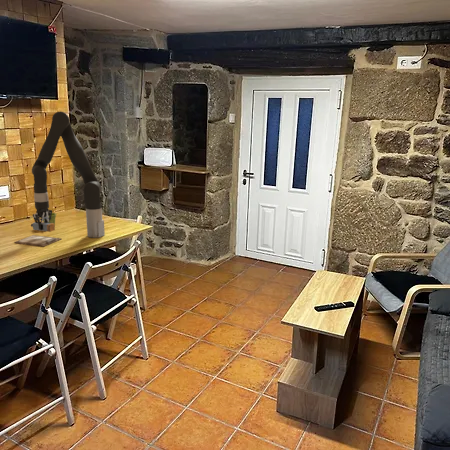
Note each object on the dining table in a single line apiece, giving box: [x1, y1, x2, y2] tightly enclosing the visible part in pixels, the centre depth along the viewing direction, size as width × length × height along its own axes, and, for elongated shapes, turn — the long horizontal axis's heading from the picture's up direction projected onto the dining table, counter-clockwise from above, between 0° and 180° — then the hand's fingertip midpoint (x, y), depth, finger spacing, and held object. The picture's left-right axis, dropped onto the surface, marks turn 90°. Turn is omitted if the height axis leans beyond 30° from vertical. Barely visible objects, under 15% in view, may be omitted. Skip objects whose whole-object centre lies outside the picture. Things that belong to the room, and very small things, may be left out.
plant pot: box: [43, 212, 57, 226], centre depth 271 cm, size 9×9×9 cm
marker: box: [30, 221, 56, 233], centre depth 246 cm, size 14×4×4 cm, turn 73°
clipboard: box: [14, 234, 62, 247], centre depth 243 cm, size 20×15×2 cm
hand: (44, 228), depth 246 cm, fingers closed on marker, 4 cm apart
